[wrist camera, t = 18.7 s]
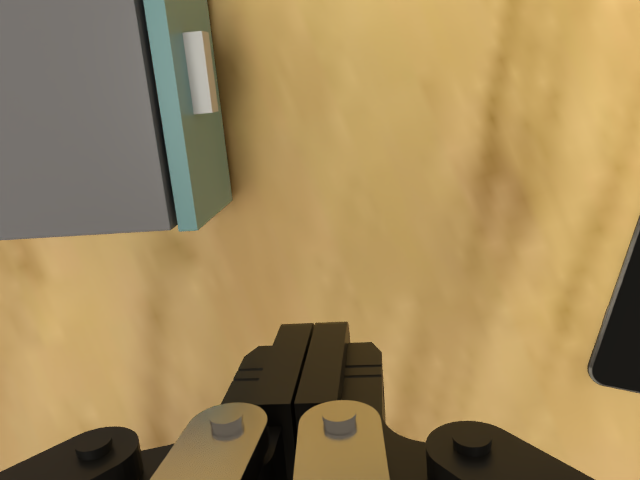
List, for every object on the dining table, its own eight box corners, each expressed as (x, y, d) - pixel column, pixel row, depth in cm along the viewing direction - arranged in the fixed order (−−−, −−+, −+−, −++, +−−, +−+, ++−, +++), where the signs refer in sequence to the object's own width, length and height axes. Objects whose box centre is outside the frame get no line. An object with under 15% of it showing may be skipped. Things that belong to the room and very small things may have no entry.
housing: (217, 194, 38) (170, 230, 29) (18, 207, 40) (-82, 245, 31) (183, -57, 34) (117, -101, 25) (-37, -31, 36) (-169, -64, 27)
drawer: (247, 199, 37) (216, 229, 30) (33, 213, 38) (-46, 244, 31) (215, -70, 33) (170, -110, 26) (-24, -42, 34) (-128, -71, 27)
